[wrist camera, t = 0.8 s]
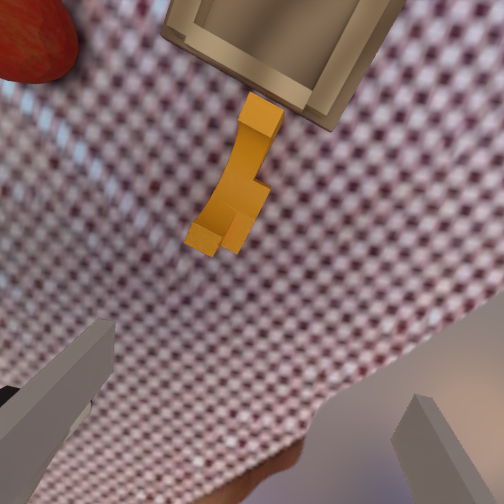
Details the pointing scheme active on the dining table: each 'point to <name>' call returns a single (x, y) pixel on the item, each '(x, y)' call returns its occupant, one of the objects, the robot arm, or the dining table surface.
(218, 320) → the dining table surface
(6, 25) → the apple
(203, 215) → the orange stepped block
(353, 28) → the tray
